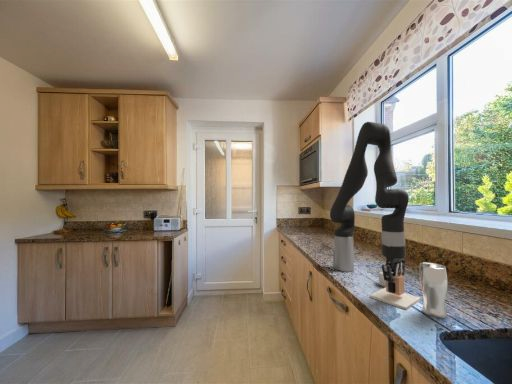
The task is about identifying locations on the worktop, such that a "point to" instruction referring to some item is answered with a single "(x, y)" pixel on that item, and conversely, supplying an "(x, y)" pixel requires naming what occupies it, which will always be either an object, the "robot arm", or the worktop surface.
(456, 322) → the worktop surface
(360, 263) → the worktop surface
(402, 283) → the terracotta block
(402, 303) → the cream pad
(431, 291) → the beer glass
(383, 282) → the grey block
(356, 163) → the robot arm
